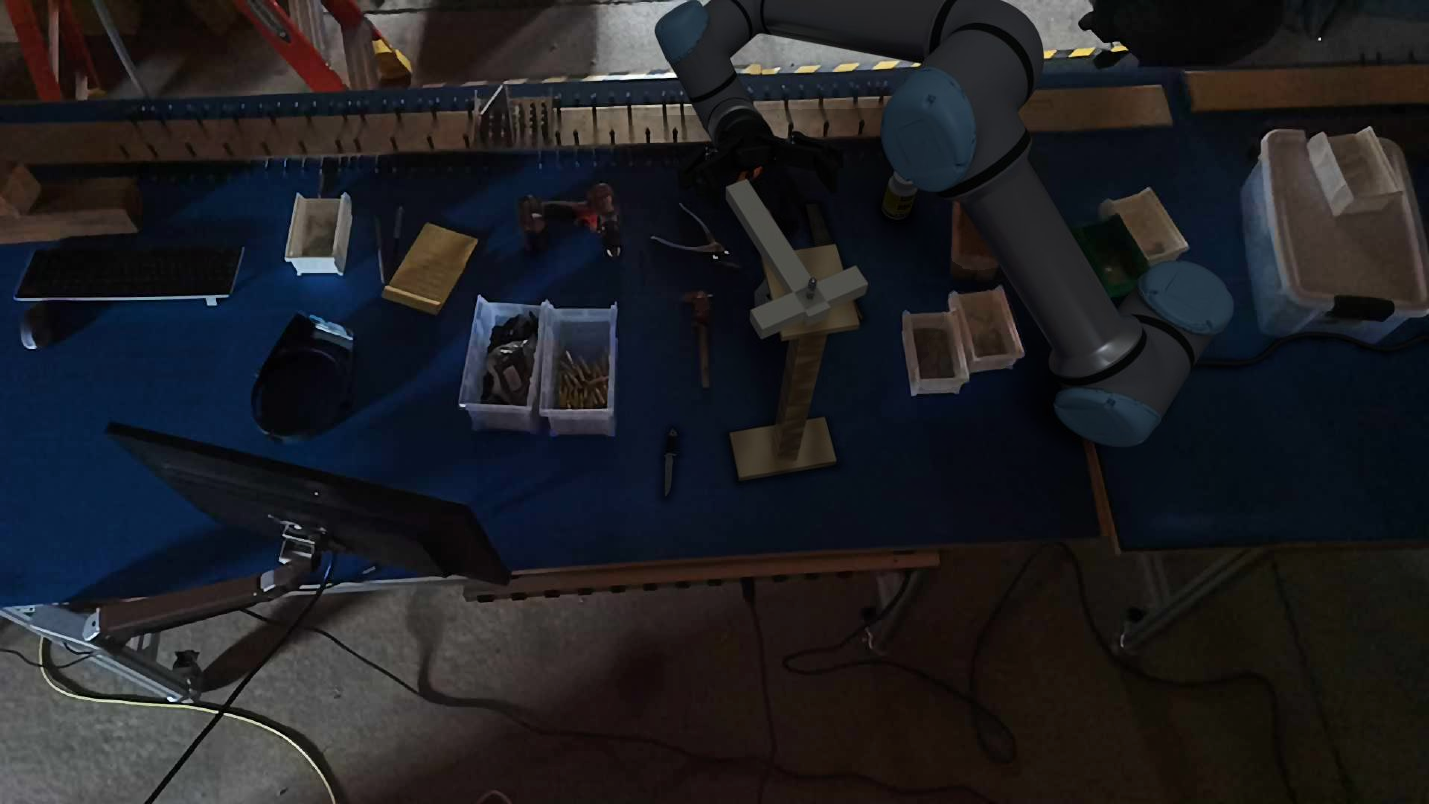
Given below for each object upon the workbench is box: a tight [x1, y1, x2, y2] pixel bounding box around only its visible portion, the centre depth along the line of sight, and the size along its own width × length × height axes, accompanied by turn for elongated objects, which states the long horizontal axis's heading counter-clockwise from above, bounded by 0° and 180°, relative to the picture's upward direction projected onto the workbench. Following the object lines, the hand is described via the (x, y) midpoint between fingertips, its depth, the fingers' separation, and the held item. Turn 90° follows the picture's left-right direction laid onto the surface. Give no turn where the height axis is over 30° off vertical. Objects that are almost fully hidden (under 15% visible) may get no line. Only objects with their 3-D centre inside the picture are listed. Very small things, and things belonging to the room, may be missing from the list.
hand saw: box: [805, 203, 863, 321], centre depth 138 cm, size 24×5×1 cm, turn 14°
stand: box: [729, 243, 861, 482], centre depth 106 cm, size 14×10×40 cm
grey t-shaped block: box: [725, 178, 869, 340], centre depth 88 cm, size 12×18×5 cm, turn 26°
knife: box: [663, 428, 678, 497], centre depth 122 cm, size 10×2×1 cm, turn 170°
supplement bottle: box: [881, 170, 919, 221], centre depth 139 cm, size 5×5×8 cm
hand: (775, 190), depth 97 cm, fingers open, 13 cm apart
